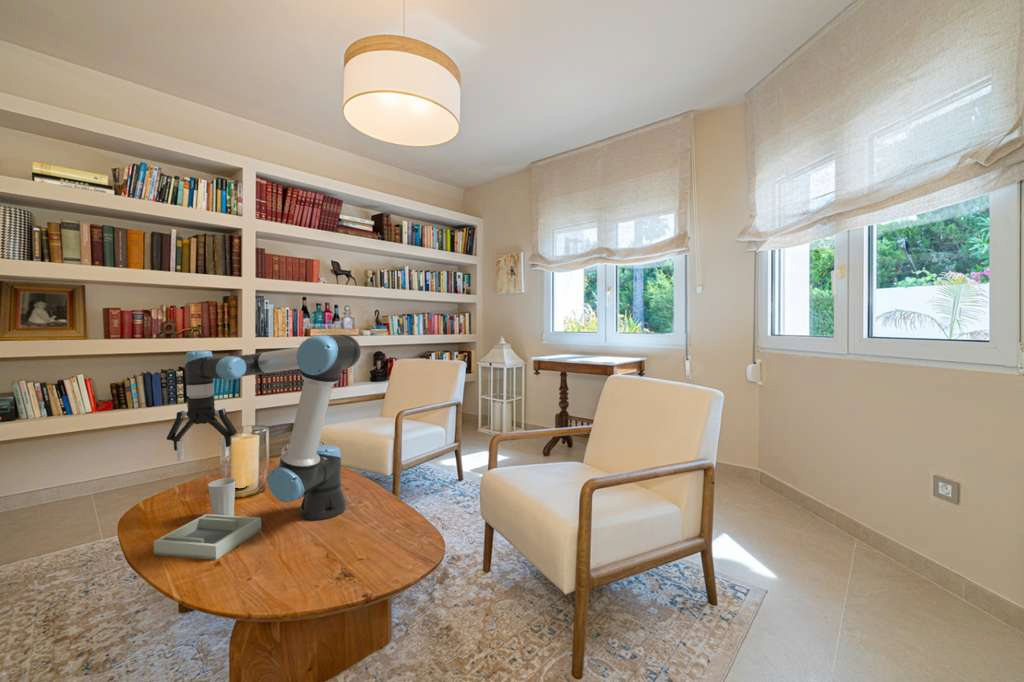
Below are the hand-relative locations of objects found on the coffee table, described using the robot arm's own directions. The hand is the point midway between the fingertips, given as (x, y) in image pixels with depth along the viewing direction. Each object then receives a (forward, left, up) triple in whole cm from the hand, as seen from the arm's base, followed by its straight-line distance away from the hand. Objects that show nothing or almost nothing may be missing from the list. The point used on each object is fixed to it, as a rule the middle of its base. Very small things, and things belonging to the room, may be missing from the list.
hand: (203, 458), depth 148 cm
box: (-15, +14, -21) cm, 29 cm away
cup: (-5, -2, -21) cm, 22 cm away
